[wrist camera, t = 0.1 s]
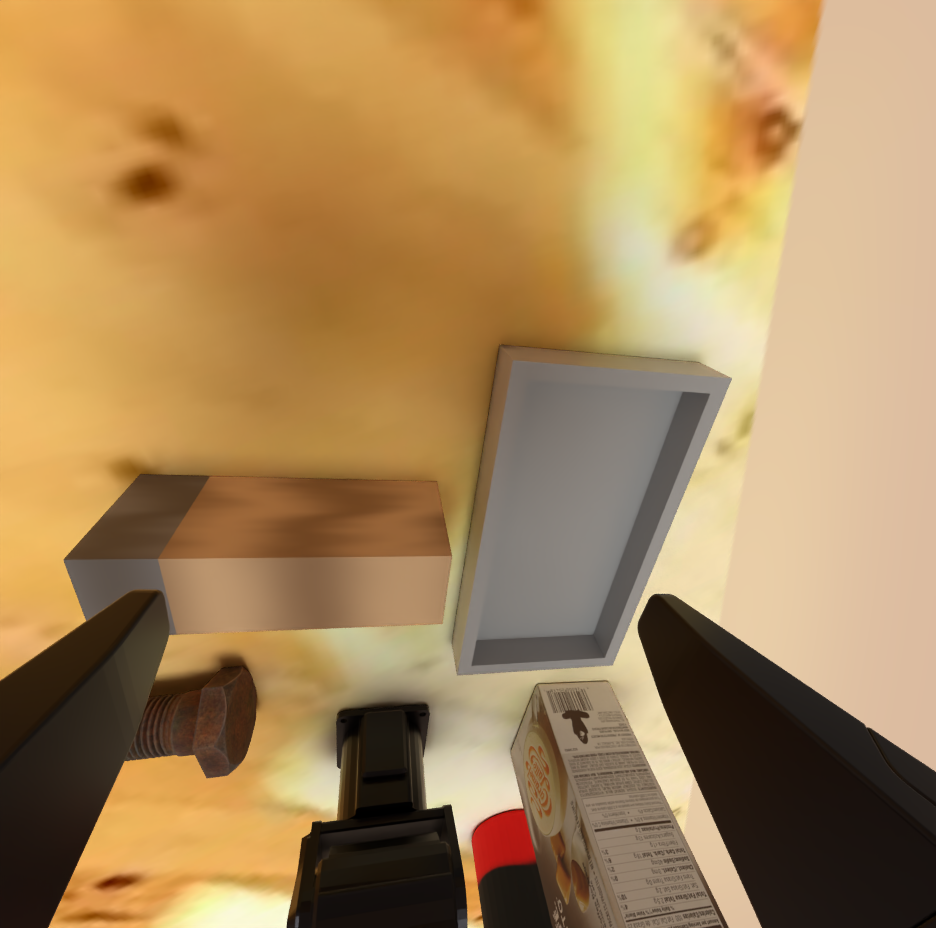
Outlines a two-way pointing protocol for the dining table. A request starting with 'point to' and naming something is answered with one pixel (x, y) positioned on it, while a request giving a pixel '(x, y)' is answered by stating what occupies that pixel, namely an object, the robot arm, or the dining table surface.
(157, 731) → the bolt
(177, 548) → the brown rectangular block
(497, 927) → the soda can
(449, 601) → the dining table surface
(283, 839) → the dining table surface
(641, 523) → the tray
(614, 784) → the coffee box
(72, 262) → the dining table surface
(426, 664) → the dining table surface
